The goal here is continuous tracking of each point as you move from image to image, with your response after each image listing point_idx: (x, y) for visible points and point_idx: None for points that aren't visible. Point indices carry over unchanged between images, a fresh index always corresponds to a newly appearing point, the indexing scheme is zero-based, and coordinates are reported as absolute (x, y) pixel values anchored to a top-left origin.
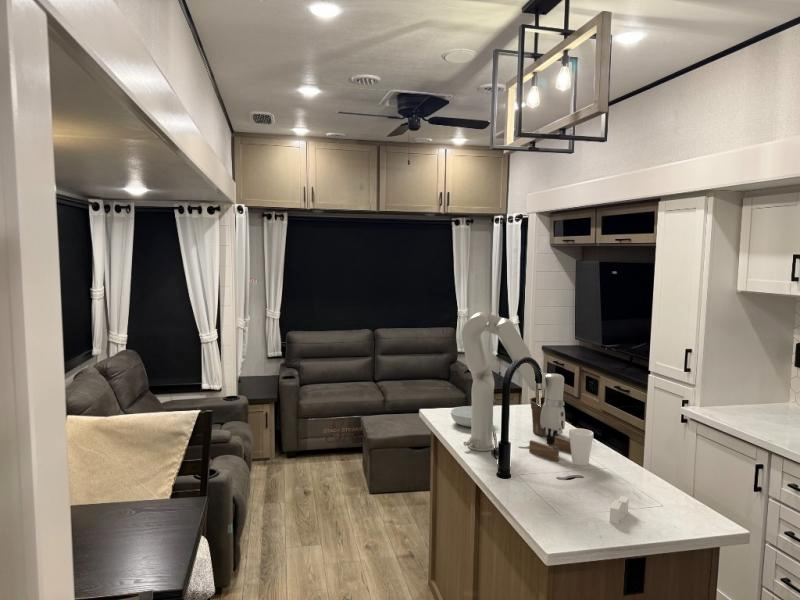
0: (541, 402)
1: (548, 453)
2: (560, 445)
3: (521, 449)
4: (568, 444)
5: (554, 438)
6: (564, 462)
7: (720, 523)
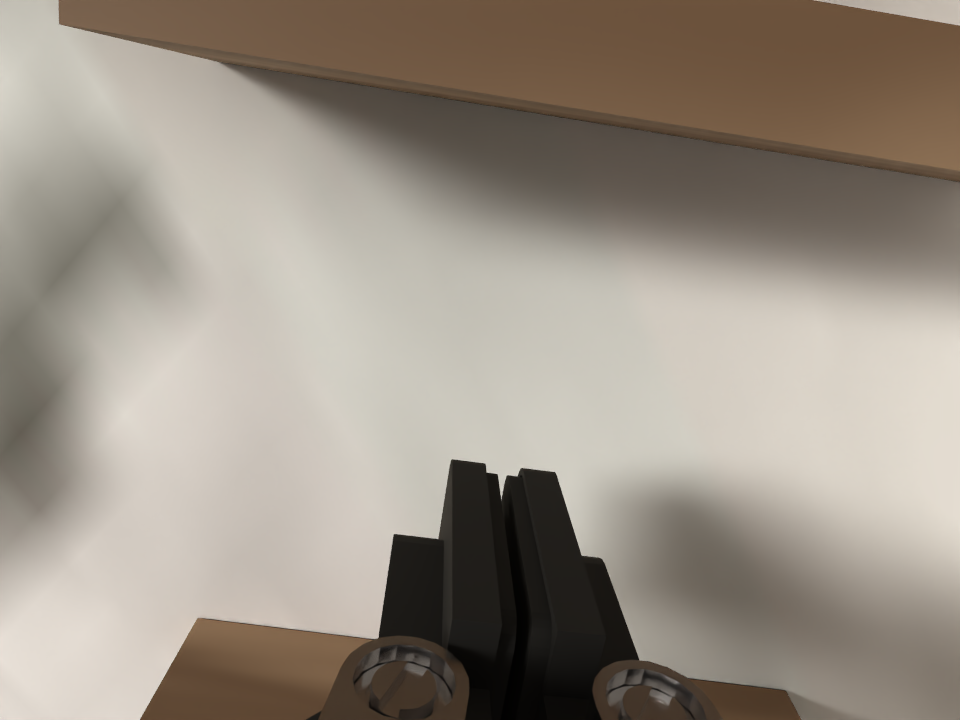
0: None
1: None
2: (584, 116)
3: (13, 646)
4: (889, 164)
5: (622, 642)
6: (893, 689)
7: None
